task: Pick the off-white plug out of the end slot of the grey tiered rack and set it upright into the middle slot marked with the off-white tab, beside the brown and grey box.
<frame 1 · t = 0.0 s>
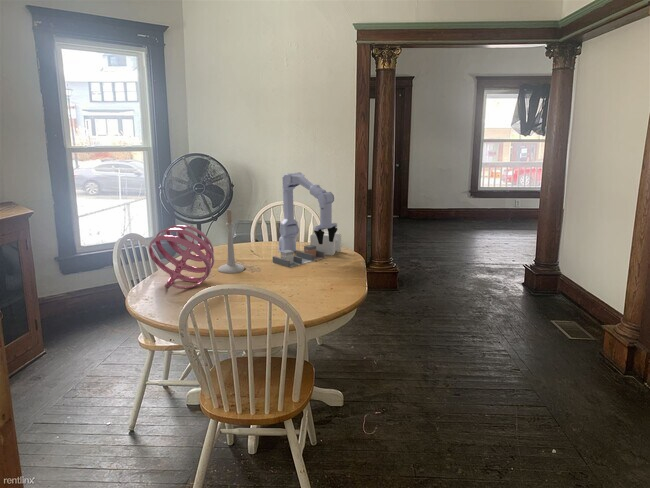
hand: (325, 242, 255), 10 cm above the table, tool pointing down, fingers open, 7 cm apart
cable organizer: (325, 254, 274), on the table
brown and grey box: (310, 257, 263), point 1 cm above the table, touching grey tiered rack
white plug: (287, 262, 252), point 1 cm above the table, touching grey tiered rack
candlestick: (231, 269, 244), on the table
spiral basket: (186, 284, 221), on the table
grey tiered rack: (298, 261, 258), on the table
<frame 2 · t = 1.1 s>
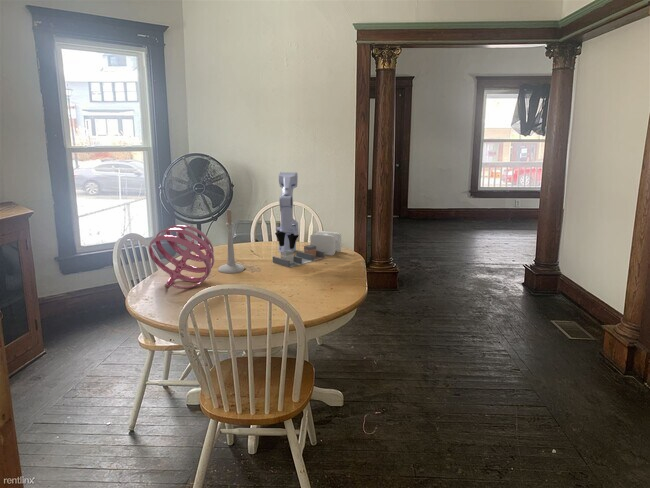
hand: (286, 247, 250), 9 cm above the table, tool pointing down, fingers open, 7 cm apart
nothing on the table moved.
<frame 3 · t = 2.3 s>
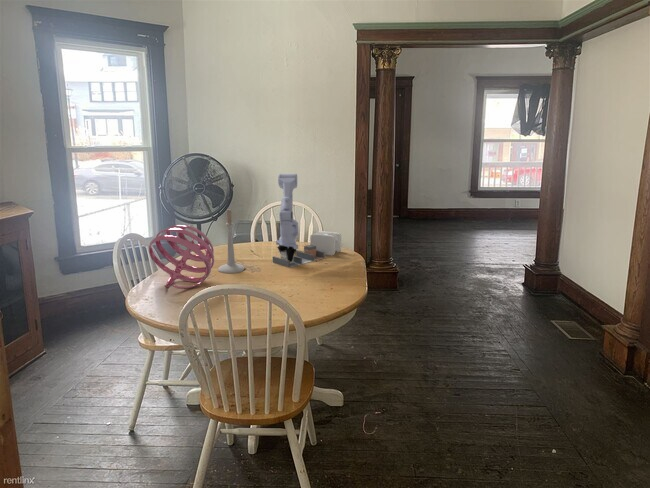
hand: (287, 260, 251), 2 cm above the table, tool pointing down, fingers closed on white plug, 4 cm apart
white plug: (287, 262, 252), point 1 cm above the table, touching grey tiered rack, gripper
everything else where it was.
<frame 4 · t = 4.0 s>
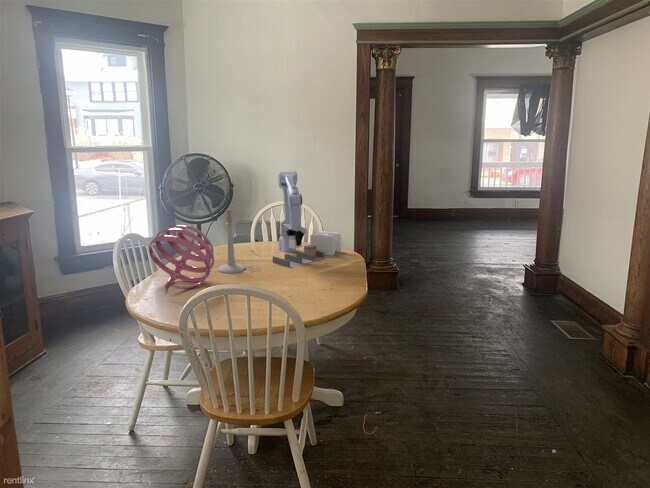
hand: (295, 244, 254), 9 cm above the table, tool pointing down, fingers closed on white plug, 4 cm apart
white plug: (295, 247, 254), point 8 cm above the table, touching gripper
everything else where it was.
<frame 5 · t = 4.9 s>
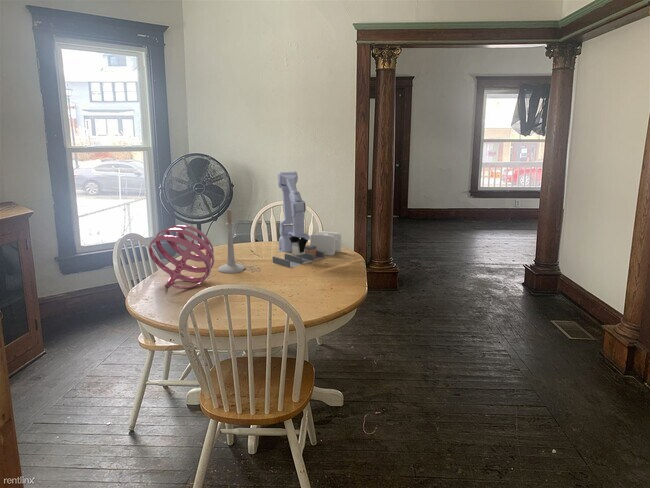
hand: (298, 251, 256), 6 cm above the table, tool pointing down, fingers closed on white plug, 4 cm apart
white plug: (298, 253, 256), point 4 cm above the table, touching gripper
everything else where it was.
when the fingers open (3 cm above the table, at t = 5.7 s): white plug stays where it is, resting on grey tiered rack.
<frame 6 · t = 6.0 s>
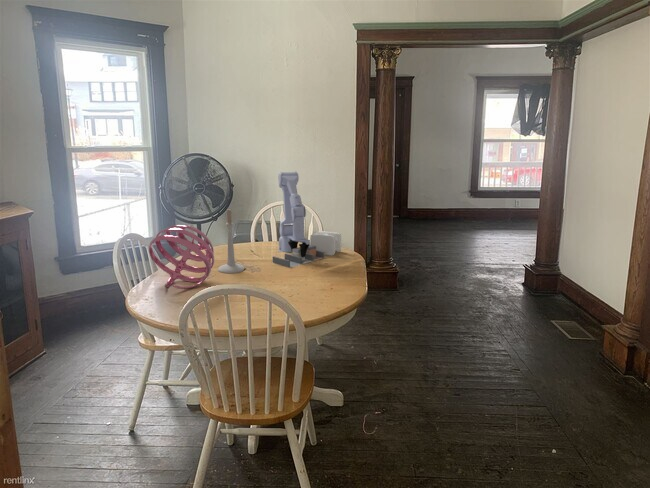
hand: (298, 255, 257), 3 cm above the table, tool pointing down, fingers open, 6 cm apart
white plug: (298, 260, 257), point 1 cm above the table, touching grey tiered rack
everything else where it was.
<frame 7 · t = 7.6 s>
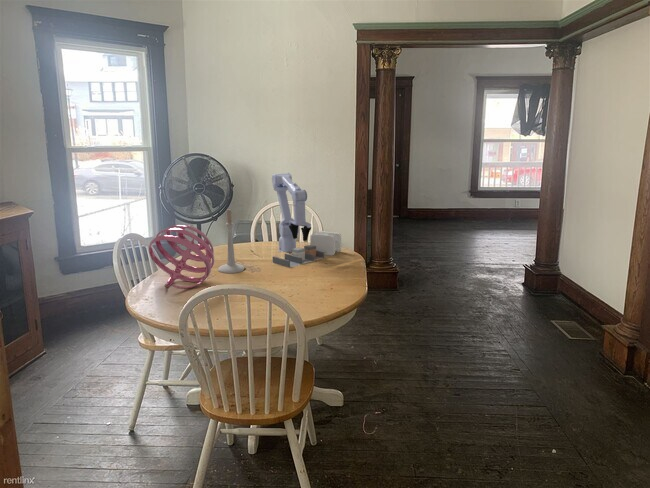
hand: (300, 239, 261), 10 cm above the table, tool pointing down, fingers open, 7 cm apart
nothing on the table moved.
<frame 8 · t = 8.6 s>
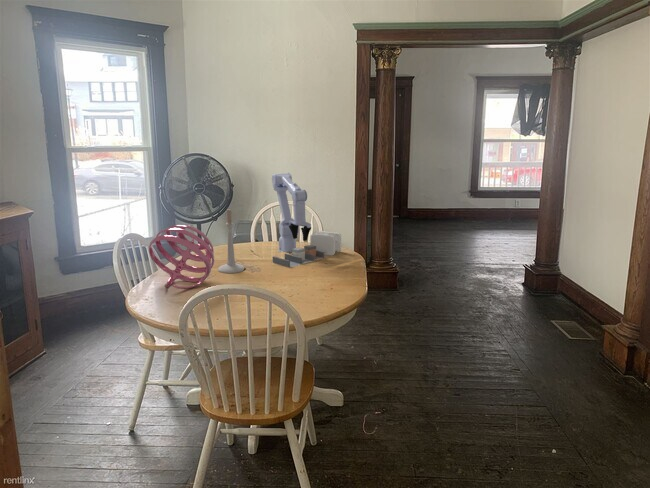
hand: (300, 239, 261), 10 cm above the table, tool pointing down, fingers open, 7 cm apart
nothing on the table moved.
at the end: white plug 0.2 cm off-centre on the grey tiered rack, point 1.0 cm above the grey tiered rack's base; white plug tilted 0°; the gripper is holding nothing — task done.
